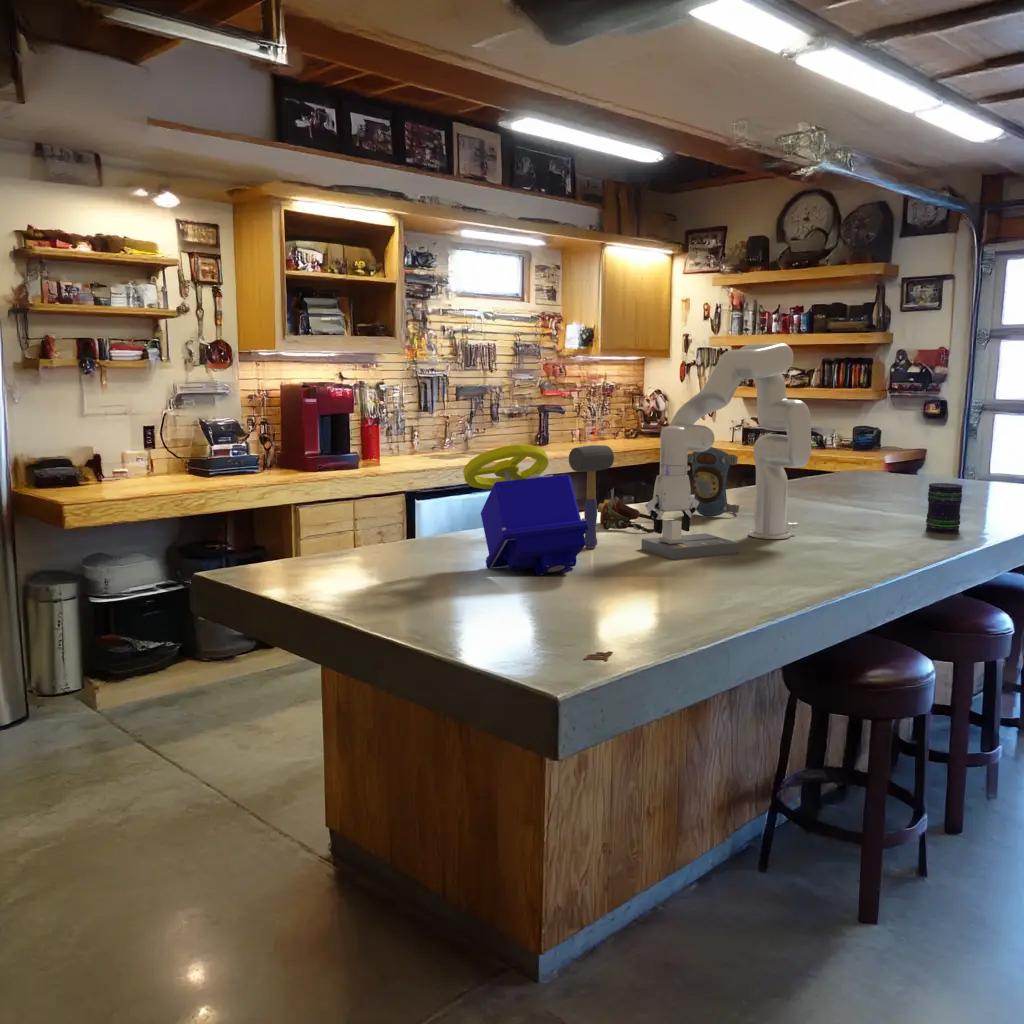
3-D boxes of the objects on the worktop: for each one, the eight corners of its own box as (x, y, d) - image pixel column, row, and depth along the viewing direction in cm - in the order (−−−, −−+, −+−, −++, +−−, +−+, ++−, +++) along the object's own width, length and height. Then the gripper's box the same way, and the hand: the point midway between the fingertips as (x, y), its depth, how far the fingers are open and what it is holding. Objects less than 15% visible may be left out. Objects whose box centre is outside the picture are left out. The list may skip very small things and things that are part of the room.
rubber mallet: (582, 552, 254) (583, 447, 249) (565, 548, 260) (566, 445, 255) (614, 547, 261) (616, 445, 257) (597, 543, 267) (598, 443, 263)
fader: (673, 538, 257) (673, 517, 256) (684, 542, 251) (685, 521, 250) (658, 540, 255) (658, 519, 254) (669, 543, 249) (670, 522, 249)
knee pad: (676, 516, 317) (678, 445, 313) (699, 509, 333) (701, 442, 329) (725, 520, 307) (728, 448, 303) (746, 513, 323) (749, 444, 319)
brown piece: (609, 626, 183) (609, 623, 183) (631, 628, 181) (631, 625, 181) (581, 662, 160) (581, 658, 160) (606, 664, 159) (606, 661, 159)
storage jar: (955, 535, 279) (959, 487, 277) (922, 532, 285) (925, 485, 283) (962, 530, 287) (965, 484, 285) (929, 527, 293) (932, 482, 290)
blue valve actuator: (601, 549, 215) (573, 438, 225) (494, 563, 208) (470, 448, 218) (572, 582, 238) (548, 480, 248) (475, 596, 231) (454, 490, 241)
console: (705, 543, 267) (705, 533, 267) (738, 553, 253) (738, 542, 252) (641, 548, 259) (641, 538, 259) (671, 559, 244) (671, 548, 244)
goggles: (673, 533, 284) (673, 502, 282) (599, 534, 284) (599, 503, 283) (662, 523, 308) (662, 494, 307) (594, 524, 308) (594, 495, 307)
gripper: (692, 468, 257) (690, 527, 259) (639, 470, 250) (638, 531, 253) (707, 470, 250) (705, 531, 253) (653, 473, 243) (652, 536, 246)
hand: (671, 531), depth 253 cm, fingers open, 8 cm apart
